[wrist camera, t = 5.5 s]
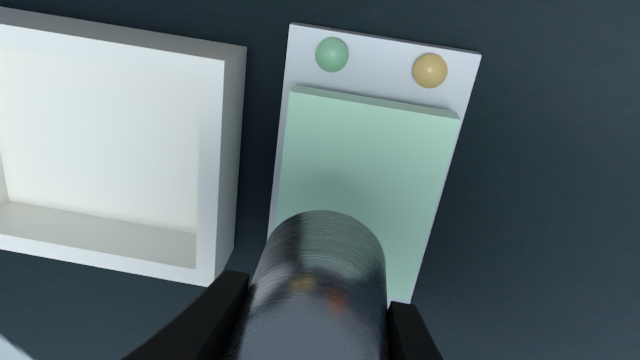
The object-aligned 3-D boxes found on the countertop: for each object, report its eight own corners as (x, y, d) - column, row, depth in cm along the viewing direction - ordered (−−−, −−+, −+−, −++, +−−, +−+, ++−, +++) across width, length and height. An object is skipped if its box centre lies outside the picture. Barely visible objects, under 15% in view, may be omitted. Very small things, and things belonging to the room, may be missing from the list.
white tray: (233, 248, 22) (213, 288, 19) (3, 207, 22) (-48, 240, 20) (247, 46, 18) (224, 60, 15) (-36, 0, 18) (-107, 6, 15)
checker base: (406, 300, 22) (407, 317, 21) (265, 274, 22) (260, 290, 21) (477, 51, 17) (484, 57, 16) (293, 21, 17) (287, 25, 16)
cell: (370, 322, 14) (367, 567, 8) (257, 297, 14) (177, 524, 8) (399, 225, 13) (422, 445, 7) (272, 197, 13) (187, 393, 7)
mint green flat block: (407, 285, 20) (408, 300, 19) (273, 261, 20) (268, 275, 19) (455, 111, 16) (460, 119, 16) (293, 84, 17) (289, 91, 16)
